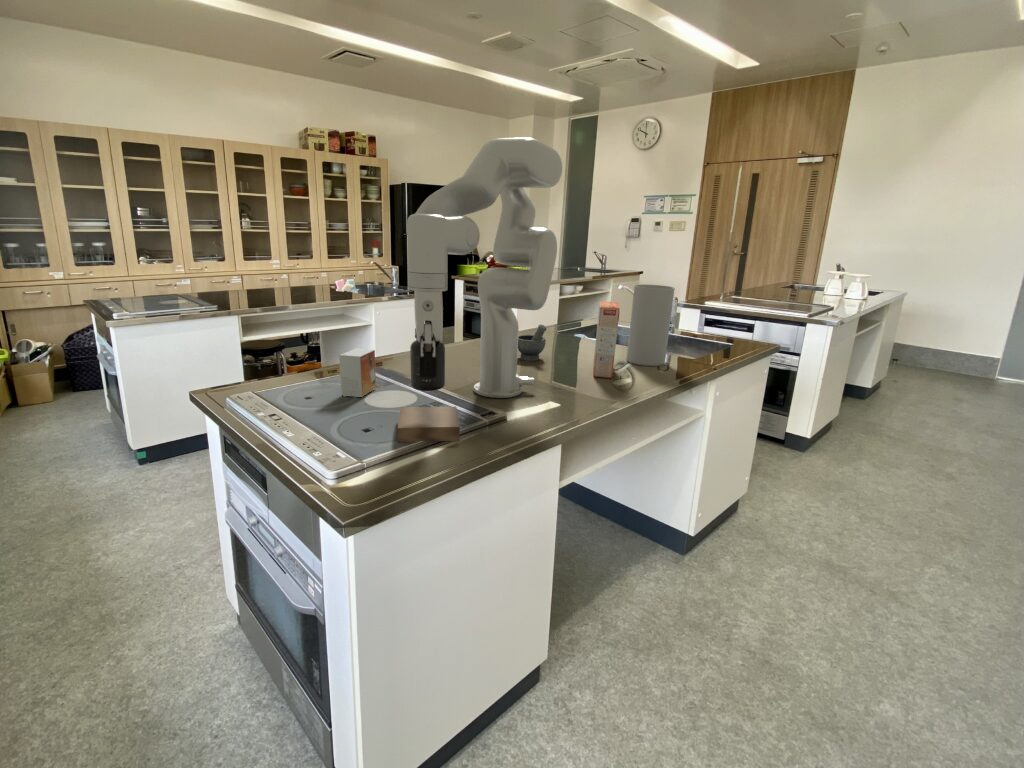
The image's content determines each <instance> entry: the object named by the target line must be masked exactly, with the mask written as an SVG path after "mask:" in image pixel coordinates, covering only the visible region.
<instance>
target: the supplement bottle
mask: <svg viewBox="0 0 1024 768" xmlns="http://www.w3.org/2000/svg"><path fill="white" fill-rule="evenodd" d="M424 330H425V326H424ZM431 330H432V326H431ZM420 338H421V336H420ZM414 339H415V340H413V342H411V344H410V350H409V355H410V356H409V357H410V385H411V387H412V388H413V389H415V390H417V391H423V392H433V391H438V390H441V389H443V388H444V387H445V384H446V347H445V344H444V343H443V342H442V343H439V341H436V339H435V357H437V363H436V377H420V357H421V341H420V343H419V342H418V341H417V334H416V327H415V328H414ZM423 341H425V339H423ZM431 341H433V339H431ZM424 346H425V345H424ZM431 346H432V345H431ZM432 354H433V351H432ZM432 357H433V356H432Z"/></svg>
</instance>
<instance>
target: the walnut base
mask: <svg viewBox="0 0 1024 768" xmlns="http://www.w3.org/2000/svg"><path fill="white" fill-rule="evenodd" d="M399 408H400V409H399V415H398V421H397V423H398V424H397V443H420V442H419V441H429V442H428V443H430V442H458V441H459V442H460V438H461V437H460V436H461V435H460V431H461V429H460V426H461V425H460V422H459V414H458V410H457V406H413V407H412V406H410V407H407V406H405V407H404V406H401V407H399Z"/></svg>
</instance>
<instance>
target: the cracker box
mask: <svg viewBox="0 0 1024 768" xmlns="http://www.w3.org/2000/svg"><path fill="white" fill-rule="evenodd" d="M619 305H620V304H619V302H617V301H608V300H607V301H605V300H603V301H599V306H598V315H597V325H596V334H595V335H596V336H595V347H594V355H593V377H594V378H605V379H612V378H613V376H614V375H613V374H614V364H615V355H616V345H617V337H618V328H619V320H620V313H621V312H620V310H621V309H620V306H619Z"/></svg>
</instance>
